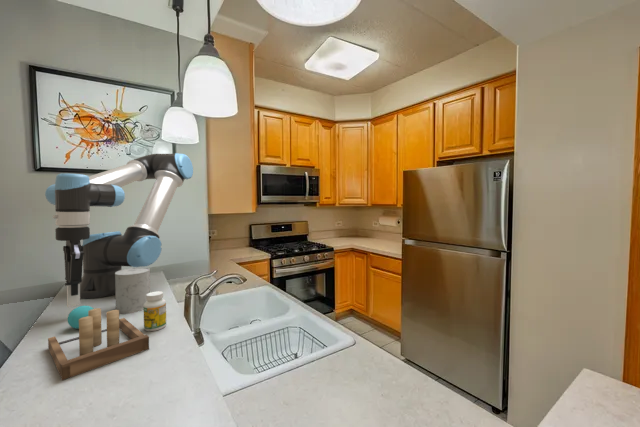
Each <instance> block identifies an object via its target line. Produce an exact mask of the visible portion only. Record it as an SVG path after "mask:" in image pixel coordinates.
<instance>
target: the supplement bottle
mask: <svg viewBox="0 0 640 427" xmlns="http://www.w3.org/2000/svg"><path fill="white" fill-rule="evenodd" d="M163 297H164V293H163V291H161V290H160V291H158V290H157V291H152V292H151V291H150V293H148V294H146V299H147V301H146V302H145V303H144V306H143V308H144V310H143V329H144V331H146V332H155V331H159V330H162V329H164V328H165V327H166V326H167V301H166V299H164V298H163Z"/></svg>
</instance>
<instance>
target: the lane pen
mask: <svg viewBox="0 0 640 427" xmlns="http://www.w3.org/2000/svg"><path fill="white" fill-rule="evenodd" d="M119 330H120V331H122V332H123V333H124V334H125V336H127V337H128V338H129V339H128V340H126V341H123V342H119V344H116V345H113V346H110V347H107V346H106V347H104V348H101V349H98V350H95V351H94V350H93V352H91V353H88V354H85V355H82V356H80V355H79V356H76V357H73V358H69V359H68V357H66V354H65V353H64V350H63V348H62V347H61V344H59V341H58V339H57V337H56V336H52V337H51V336H50V337H48V338H47V347H48V351H49V353H50V355H51V358H52V361H53V363H54V365H55V368H56V369H57V371H58V374H59V377H60V379H61V381H64V380H67V379H71V378H73V377H75V376H78V375H81V374H84V373H88V372H89V371H92V370H95V369H97V368H100V367H103V366H105V365H108V364H111V363H114V362H117V361H119V360H122V359H125V358H127V357H131V356H133V355H137V354H138V353H139V354H140V353H141V352H145V351H146V350H147V351H148V350H149V349H150V336H149V335H148V334H144V333H143V332H142V331H141V330H139V328H137V327H136V326H135V325H133V324H132V323H131V322H130V321H128V320H127V319H126V318H125V317H123V318H119Z"/></svg>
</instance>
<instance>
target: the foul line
mask: <svg viewBox="0 0 640 427" xmlns="http://www.w3.org/2000/svg"><path fill="white" fill-rule="evenodd" d="M104 332H107V328H105V329H101V333H104ZM76 340H79V336H78V337H75V338H74V337H73V338H70V339H66V340H63V341H60V342H59V341H58V343H59V345H61V344H66V343H69V342H72V341H76Z"/></svg>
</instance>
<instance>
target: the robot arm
mask: <svg viewBox="0 0 640 427" xmlns="http://www.w3.org/2000/svg"><path fill="white" fill-rule="evenodd" d="M193 174H194V166H193V163H192V160H191V159H190V157H189V156H188V155H186V154H185V153H178V152H175V153H152V154H147V155H143V156H141V157H137V158H134V159H131V160H129V161H127V163H126V164H124V165H121V166H117V167H114V168H111V169H108V170H105V171H102V172H99V173H95V174H93V175H90V176H89V175H87V174H86V175H85V174H82V173H81V174H80V173H68V172H65V173H63V172H61V173H58V174H57V175H56V176H55V182H54V184H51V185H48V187H47V188H46V189H45V192H44V193H45V194H44V195H45V198H46V200H47V202H49V203H50V204H51V205H53V206H55V214H54V215H52V219H55V225H56V226H57V227H56V228H55V229H54V230H55V240H56V241H61V242H63V241H64V242H65V245H64V246H63V247H62V251H63V258H64V259H63V260H64V271H65V272H64V273H65V275H64V280H65V282H66V283H64V286H66V307H67V308H72V307H75V306H76V307H78V306H81V299H95V298H96V299H97V298H104V297H109V296H115V295H116V288H115V272H117V271H120V270H123V269H122V267H132V268H146V267H148V266H151V265H153V264H154V263H156V261H158V259H159V257H160V255H161V253H162V241H161V239H160V237H161V236H160V234H159V233H158V232H159V229H160V228H161V225H162V222H163V220H164V218H165V216H166V214H167V211H168V209H169V206H170V204H171V202H172V199H173V197H174V196H175V192H176V190H177V189H178V188H179V187H182V185H183V184H184V181H185V180H189V179H191V178H193ZM146 180H155V181H154V183H153V186H152V187H151V188H150V191H149V192H148V195H147V197H146V200H145V202H144V204H142V207H141V210H140V212H139V213H138V216H137V218H136V220H135V222H134V224H132V225H130V226H128V227H126V230H125V232H124V233H123V234H122V231H120V230H117V231H109V232H101V233H91V234H90V231H91V230H90V229H91V228H90V224H91V210H90V209H91V208H90V207H101V208H102V207H104V208H105V207H108V208H112V207H119V206H121V205H122V204H123V203H124V201H125V199H126V198H125V197H126V196H125V190H124V189H123V188H122V187H124V186H126V185H129V184H132V183H134V182H142V181H146ZM81 241H82V245H81Z"/></svg>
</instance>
